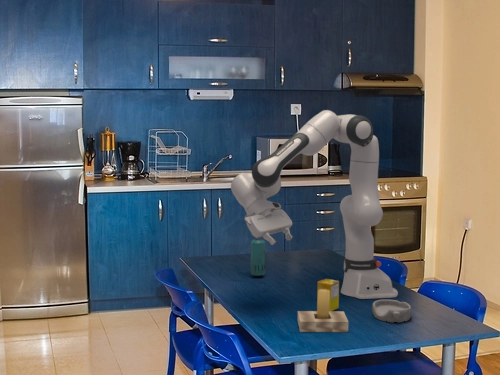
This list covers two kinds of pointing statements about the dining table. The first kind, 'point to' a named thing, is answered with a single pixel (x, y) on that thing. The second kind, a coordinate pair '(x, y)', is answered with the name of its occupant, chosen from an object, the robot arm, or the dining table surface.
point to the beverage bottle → (257, 257)
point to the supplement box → (334, 292)
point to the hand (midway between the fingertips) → (282, 241)
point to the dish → (391, 310)
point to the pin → (323, 304)
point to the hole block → (322, 322)
